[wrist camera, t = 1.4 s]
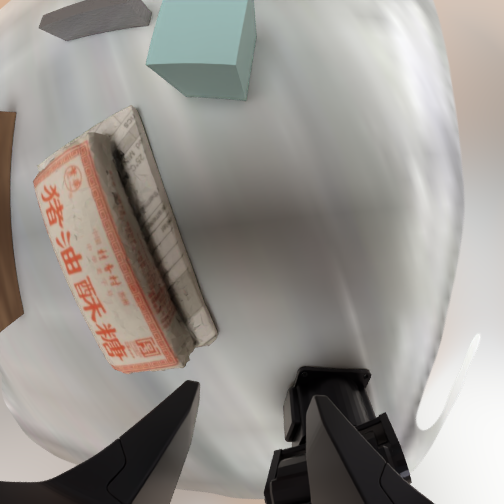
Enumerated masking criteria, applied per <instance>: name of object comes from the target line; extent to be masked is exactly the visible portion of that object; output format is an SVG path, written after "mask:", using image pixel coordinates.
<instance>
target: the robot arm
mask: <svg viewBox="0 0 504 504" xmlns="http://www.w3.org/2000/svg"><path fill="white" fill-rule="evenodd" d="M303 372H306V373H305V374H302V373H303ZM364 375H366V376H364ZM370 378H371V373H370V371H369V370H355V369H330V368H313V367H302V368H300V369H299V370H298V373H297V376H296V380H295V383H294V386H293V387H291V388H290V389H289V390H288V393H287V397H286V400H285V403H284V406H283V411H284V431H285V440H286V441H287V442H292V447H291V448H287V449H284V450H282V449H279V450H275V451H274V455H273V459H272V462H271V466H270V470H269V474H268V478H267V482H266V486H265V489H264V496H265V503H266V504H434V503H433V502H432V501H430V500H429V499H428V498H426V497H425V496H424V495H423V494H421V493H420V492H418V491H417V490H416V489H415V488H414V487H412V486H411V485H410V483H412V482H411V477H410V473H409V470H408V466H407V463H406V460H405V457H404V454H403V452H402V449H401V446H400V444H399V441H398V439H397V437H396V434H395V432H394V430H393V428H392V425H391V423H390V421H389V419H388V416H387V414H386V412H385V413H383V414H381V415H379V417H376V416H375V413H374V411H373V408H372V405H371V403H370V400H369V397H368V395H367V392H366V390H365V388H366V386H367V384H368V382H369V380H370ZM199 400H200V383H199V382H196V381H191V380H187V381H185V382H184V383H183V384H182V385H181V386H180V387H179V388H177V389H176V390H175V391H174V392H173V393H172V394H171V395H169V396H168V397H167V398H166V399H165V400H164V401H162V402H161V403H160V404H159V405H158V406H157V407H155V408H154V409H153V410H152V411H151V412H149V413H148V414H147V415H146V416H145V417H144V418H142V419H141V420H140V421H139V422H138V423H136V424H135V425H134V426H133V427H131V428H130V429H129V430H128V431H127V432H125V433H124V434H123V435H122V436H120V437H119V439H116V440H115V441H114V442H113V443H112V444H110V445H109V446H108V447H106V448H105V449H103V450H102V451H101V452H99V453H98V454H96V455H95V456H93V457H91V458H90V459H88V460H86V461H85V462H83V463H81V464H79V465H77V466H76V467H74V468H72V469H70V470H68V471H66V472H64V473H62V474H61V475H59V476H57V477H54V478H52V479H49V480H47V481H42V482H4V481H0V504H170V502H171V499H172V496H173V493H174V490H175V488H176V485H177V482H178V479H179V476H180V474H181V471H182V468H183V465H184V462H185V459H186V457H187V454H188V451H189V448H190V445H191V441H192V437H193V432H194V427H195V422H196V417H197V412H198V407H199Z"/></svg>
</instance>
